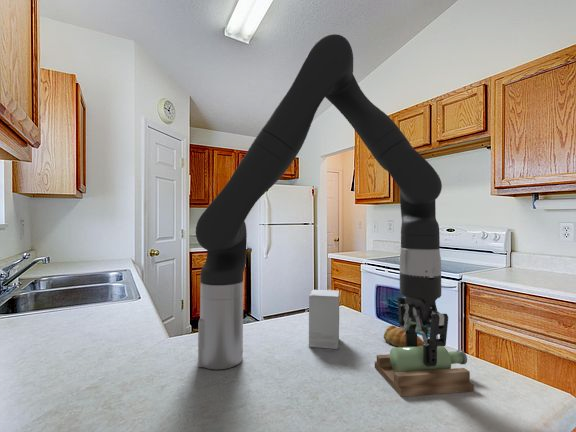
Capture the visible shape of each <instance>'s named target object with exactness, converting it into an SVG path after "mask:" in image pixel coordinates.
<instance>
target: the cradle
mask: <svg viewBox="0 0 576 432" xmlns="http://www.w3.org/2000/svg"><path fill="white" fill-rule="evenodd" d="M374 369H375V370H376V371H377V372H378V373H379V374H380V375H381V376H382V377H383V379H384V380H385V381H386V382H387V383H388V384H389V385H390V386H391V388H392V389H394V391H395V392H396V393H397V394H398V395H399V396H400V397H402V398H403V397H415V396H429V395H440V394H441V395H442V394H454V393H467V392H474V391H475V384H474V383H472V382H471V379H470V377H471V375H470V374H471V371H469V370H468V369H467V368H465V367H458V368H456V367H455V368H451V369H439V370H424V371H409V372H394V371H393V369H392V366H391V362H390V353H389V354H388V353H387V354H377V355H376V361H374Z"/></svg>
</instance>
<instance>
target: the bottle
mask: <svg viewBox="0 0 576 432" xmlns="http://www.w3.org/2000/svg"><path fill="white" fill-rule="evenodd" d="M389 354H390V362H391V366H392V369H393V371H394V372H409V371H424V370H439V369H452V365H454V364H455V365H456V364H459V365H466V364H467V363H468V356H467V354H466V353H465V350H463V349H457V350H456V351H455V350H454V351H449V350H448V349H447V348H446V346H438V347H437V364H436V366H429V367H428V366H426V365H425V364H424V363H423V346H416V347H392V348H391V349H390V351H389Z"/></svg>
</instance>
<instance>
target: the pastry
mask: <svg viewBox="0 0 576 432" xmlns="http://www.w3.org/2000/svg"><path fill="white" fill-rule="evenodd" d="M383 339H384V340H385V341H386V343H387V344H391V345H392V346H395V347H396V348H398V347H406V332H404V329H403V326H400V327H398V326H396V325H389V326H388V327H387V328H386V329H385V331H384V332H383ZM423 345H424V342H423V339H421V337H420V336H419V335H417V346H423Z"/></svg>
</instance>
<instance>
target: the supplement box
mask: <svg viewBox="0 0 576 432" xmlns="http://www.w3.org/2000/svg"><path fill="white" fill-rule="evenodd" d="M339 340H340V290H335V289H334V290H333V289H330V290H329V289H312V290H311V292H310V294H309V295H308V347H310V348H318V349H331V350H332V349H333V350H338V349H339Z"/></svg>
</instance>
